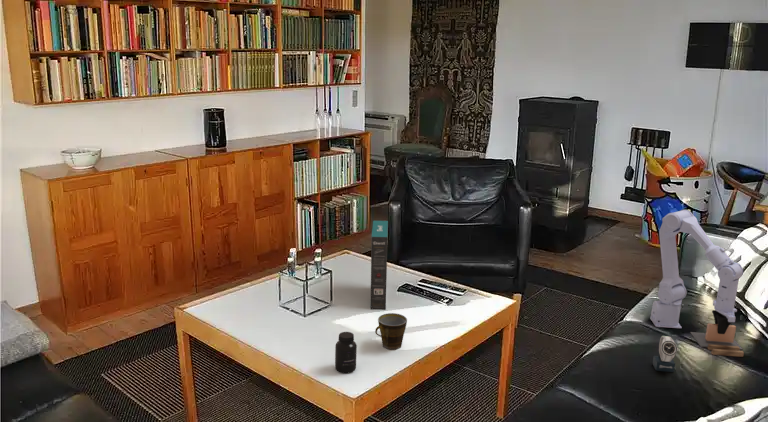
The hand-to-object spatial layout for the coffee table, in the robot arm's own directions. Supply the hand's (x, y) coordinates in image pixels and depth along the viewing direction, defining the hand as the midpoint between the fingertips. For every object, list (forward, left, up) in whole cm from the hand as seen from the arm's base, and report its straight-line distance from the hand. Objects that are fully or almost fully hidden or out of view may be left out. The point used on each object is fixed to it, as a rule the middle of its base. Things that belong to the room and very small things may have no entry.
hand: (720, 332), depth 223 cm
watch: (-25, -21, -5) cm, 33 cm away
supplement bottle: (-128, -38, -5) cm, 134 cm away
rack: (0, -6, -4) cm, 8 cm away
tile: (0, 0, -3) cm, 3 cm away
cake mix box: (-125, +20, -5) cm, 127 cm away
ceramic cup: (-116, -21, -5) cm, 118 cm away
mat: (0, +2, -4) cm, 5 cm away
